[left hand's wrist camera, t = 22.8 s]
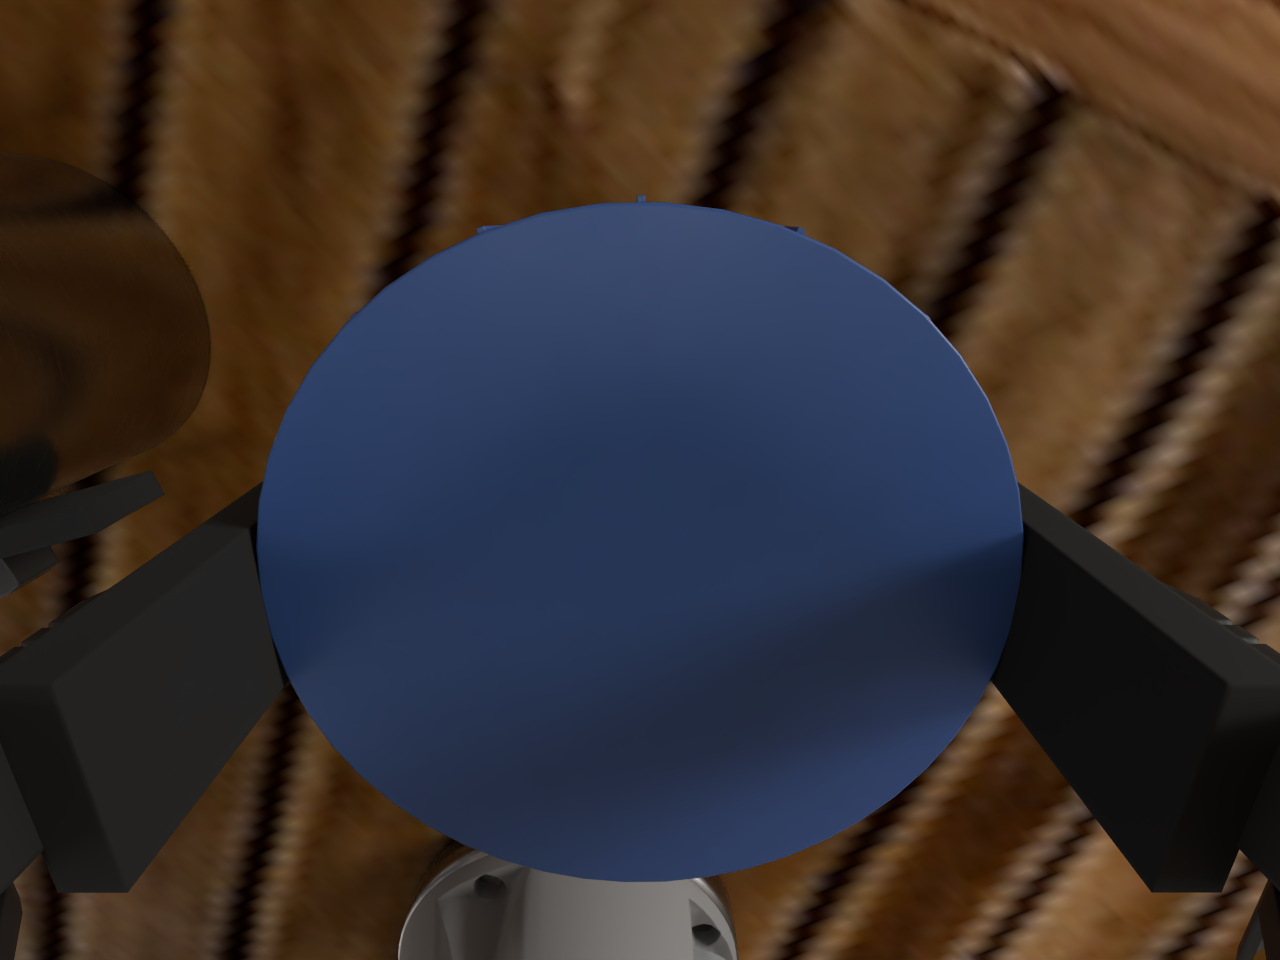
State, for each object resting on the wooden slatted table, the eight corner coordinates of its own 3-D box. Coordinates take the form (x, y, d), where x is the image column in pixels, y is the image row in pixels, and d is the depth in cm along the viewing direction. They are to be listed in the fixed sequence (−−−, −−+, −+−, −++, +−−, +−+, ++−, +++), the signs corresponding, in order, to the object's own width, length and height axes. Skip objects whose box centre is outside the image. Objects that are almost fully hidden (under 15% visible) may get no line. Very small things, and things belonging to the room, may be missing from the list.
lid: (168, 533, 12) (91, 584, 10) (668, 6, 9) (674, -42, 7) (619, 888, 15) (617, 973, 13) (1096, 571, 12) (1170, 628, 10)
